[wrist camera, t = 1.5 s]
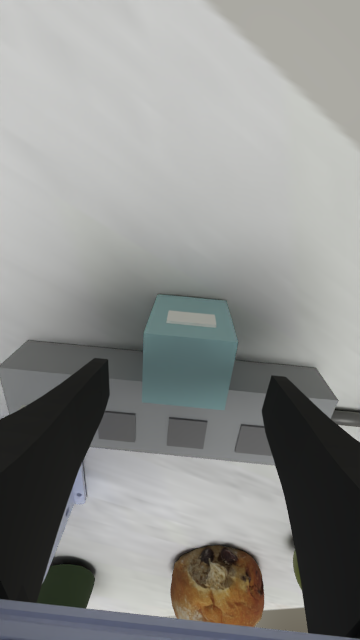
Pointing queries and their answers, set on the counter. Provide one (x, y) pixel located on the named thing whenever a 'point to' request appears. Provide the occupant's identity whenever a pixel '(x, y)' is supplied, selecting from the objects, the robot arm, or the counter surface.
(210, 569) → the bread roll
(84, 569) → the character mug
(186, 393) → the block
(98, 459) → the counter surface
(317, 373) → the power strip
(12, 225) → the counter surface
